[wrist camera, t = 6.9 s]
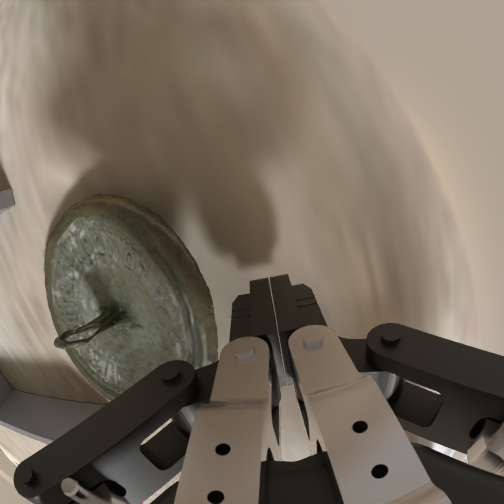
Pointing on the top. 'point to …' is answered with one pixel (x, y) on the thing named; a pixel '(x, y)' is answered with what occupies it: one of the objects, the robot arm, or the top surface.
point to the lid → (125, 294)
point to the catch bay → (38, 398)
